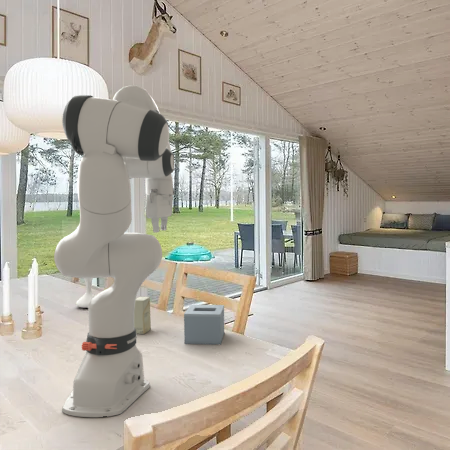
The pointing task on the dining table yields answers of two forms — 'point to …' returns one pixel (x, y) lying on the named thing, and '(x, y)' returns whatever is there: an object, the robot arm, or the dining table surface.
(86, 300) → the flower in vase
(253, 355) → the dining table surface
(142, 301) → the skincare box
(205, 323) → the coin box
